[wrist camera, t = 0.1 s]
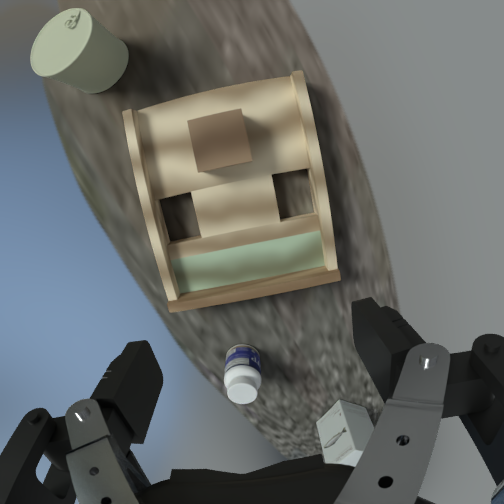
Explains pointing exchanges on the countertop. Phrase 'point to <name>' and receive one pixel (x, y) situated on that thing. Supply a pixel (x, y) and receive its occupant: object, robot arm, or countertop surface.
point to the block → (219, 140)
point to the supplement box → (344, 433)
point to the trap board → (235, 196)
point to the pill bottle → (242, 373)
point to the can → (79, 52)
